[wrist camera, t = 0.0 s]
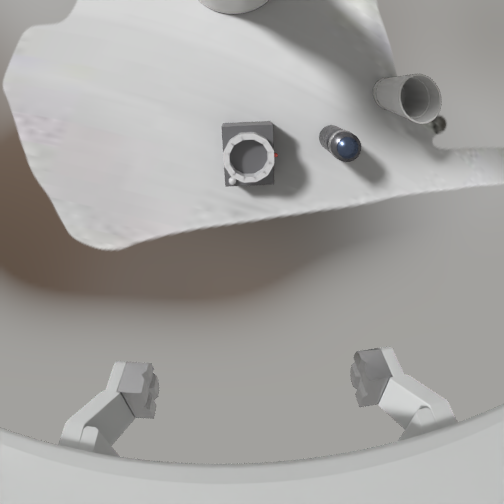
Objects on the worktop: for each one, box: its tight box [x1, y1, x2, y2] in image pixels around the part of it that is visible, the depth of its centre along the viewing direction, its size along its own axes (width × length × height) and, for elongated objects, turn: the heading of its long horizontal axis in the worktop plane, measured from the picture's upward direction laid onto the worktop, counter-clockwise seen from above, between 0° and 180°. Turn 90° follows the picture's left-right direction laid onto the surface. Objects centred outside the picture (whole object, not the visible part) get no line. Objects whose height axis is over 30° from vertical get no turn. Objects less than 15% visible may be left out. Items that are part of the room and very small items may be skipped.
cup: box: [373, 74, 441, 124], centre depth 44 cm, size 8×8×12 cm
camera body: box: [222, 121, 278, 186], centre depth 51 cm, size 10×9×7 cm
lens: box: [319, 125, 361, 162], centre depth 50 cm, size 5×5×9 cm
